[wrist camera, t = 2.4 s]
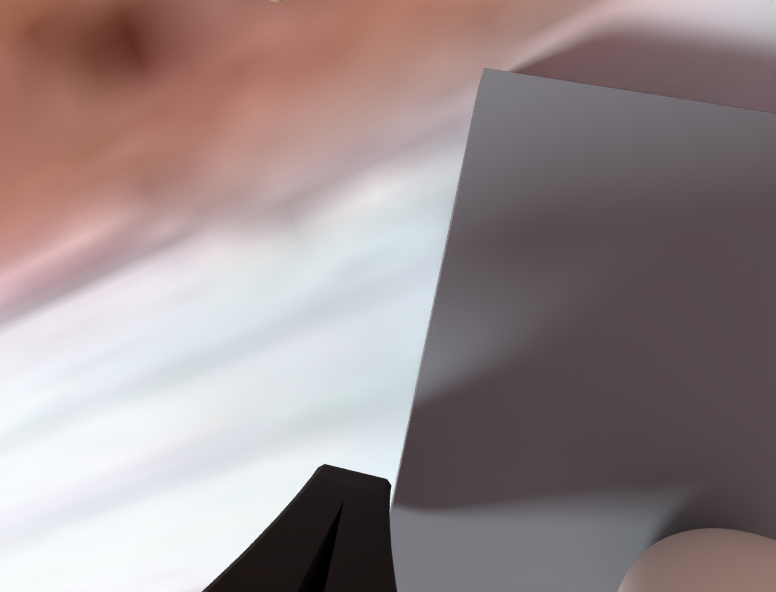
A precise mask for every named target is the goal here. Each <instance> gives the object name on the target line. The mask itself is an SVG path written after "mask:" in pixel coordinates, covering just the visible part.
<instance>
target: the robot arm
mask: <svg viewBox="0 0 776 592" xmlns="http://www.w3.org/2000/svg"><path fill="white" fill-rule="evenodd" d="M390 492H391V484H390V483H389V481H388V480H387V479H384V478H380V477H376V476H372V475H368V474H364V473H360V472H356V471H351V470H347V469H343V468H339V467H335V466H331V465H327V464H324V465H322V466H320V467H318V468H317V470H316V471H315V473H314V474H313V475H312V477H311V478H310V479H309V480H308V482H307V483H306V484H305V485H304V487H303V488H302V489H301V490H300V492H299V493H298V494H297V495H296V496H295V498H294V499H293V500H292V501H291V502H290V503H289V504H288V506H287V507H286V508H285V509H284V510H283V511H282V512H281V513H280V515H279V516H278V517H277V518H276V519H275V520H274V521H273V522H272V523H271V524H270V525H269V526H268V527H267V528H266V529H265V530H264V531H263V533H262V534H261V535H260V536H259V537H258V538H257V539H256V540H255V541H254V542H253V543H252V544H251V545H250V546H249V547H248V548H247V549H246V550H245V551H244V552H243V553H242V554H241V555H240V556H239V557H238V558H237V559H236V560H235V561H234V562H233V563H232V564H231V565H230V566H229V567H228V568H227V569H225V570H224V571H223V572H222V573H221V574H220V575H219V576H218V577H217V578H216V579H215V580H214V581H213V582H212V583H211V584H210V585H209V586H208V587H206V588H205V589H204V590H203V591H202V592H397V586H396V579H395V572H394V565H393V556H392V547H391V533H390Z"/></svg>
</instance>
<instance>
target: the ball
mask: <svg viewBox="0 0 776 592" xmlns="http://www.w3.org/2000/svg"><path fill="white" fill-rule="evenodd" d="M618 592H776V540H773V539H770V538H767V537H764V536H761V535H757V534H754V533H749V532H744V531H739V530H732V529H722V528H704V529H694V530H689V531H684V532H681V533H677V534H674V535H671V536H669V537H667V538H664V539H662V540H660V541H658V542H657V543H655V544H653V545H652V546H650V547H649V548H648V549H646V550H645V551H644V552H643V553H642V554H641V555H640V556H639V557H638V558H637V559H636V560H635V562H634V563H633V564H632V565H631V566H630V568H629V569H628V571H627V573H626V574H625V576H624V578H623V580H622V582H621V585H620V587H619V590H618Z"/></svg>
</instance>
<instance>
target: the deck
mask: <svg viewBox="0 0 776 592" xmlns="http://www.w3.org/2000/svg"><path fill="white" fill-rule="evenodd" d="M704 528H722V529H732V530H739V531H744V532H749V533H754V534H757V535H761V536H764V537H767V538H770V539H773V540H776V113H770V112H764V111H757V110H751V109H744V108H738V107H732V106H725V105H719V104H712V103H706V102H699V101H693V100H687V99H680V98H674V97H667V96H661V95H654V94H648V93H642V92H635V91H629V90H622V89H616V88H609V87H603V86H597V85H590V84H584V83H577V82H571V81H564V80H558V79H551V78H545V77H539V76H532V75H526V74H519V73H513V72H506V71H500V70H494V69H487V68H484V71H483V74H482V78H481V81H480V84H479V87H478V92H477V97H476V102H475V106H474V111H473V116H472V121H471V126H470V130H469V135H468V140H467V145H466V150H465V154H464V159H463V164H462V169H461V173H460V178H459V183H458V188H457V193H456V197H455V202H454V207H453V212H452V216H451V221H450V226H449V231H448V236H447V240H446V245H445V250H444V255H443V259H442V264H441V269H440V274H439V279H438V283H437V288H436V293H435V298H434V302H433V307H432V312H431V317H430V322H429V326H428V331H427V336H426V341H425V345H424V350H423V355H422V360H421V365H420V369H419V374H418V379H417V384H416V388H415V393H414V398H413V403H412V408H411V412H410V417H409V422H408V427H407V431H406V436H405V441H404V446H403V451H402V455H401V460H400V465H399V470H398V475H397V479H396V484H395V489H394V494H393V498H392V503H391V508H390V533H391V547H392V556H393V565H394V572H395V579H396V586H397V592H618V590H619V587H620V585H621V582H622V580H623V578H624V576H625V574H626V573H627V571H628V569H629V568H630V566H631V565H632V564H633V563H634V562H635V560H636V559H637V558H638V557H639V556H640V555H641V554H642V553H643V552H644V551H645V550H646V549H648V548H649V547H650V546H652V545H653V544H655V543H657V542H658V541H660V540H662V539H664V538H667V537H669V536H671V535H674V534H677V533H681V532H684V531H689V530H694V529H704Z"/></svg>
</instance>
